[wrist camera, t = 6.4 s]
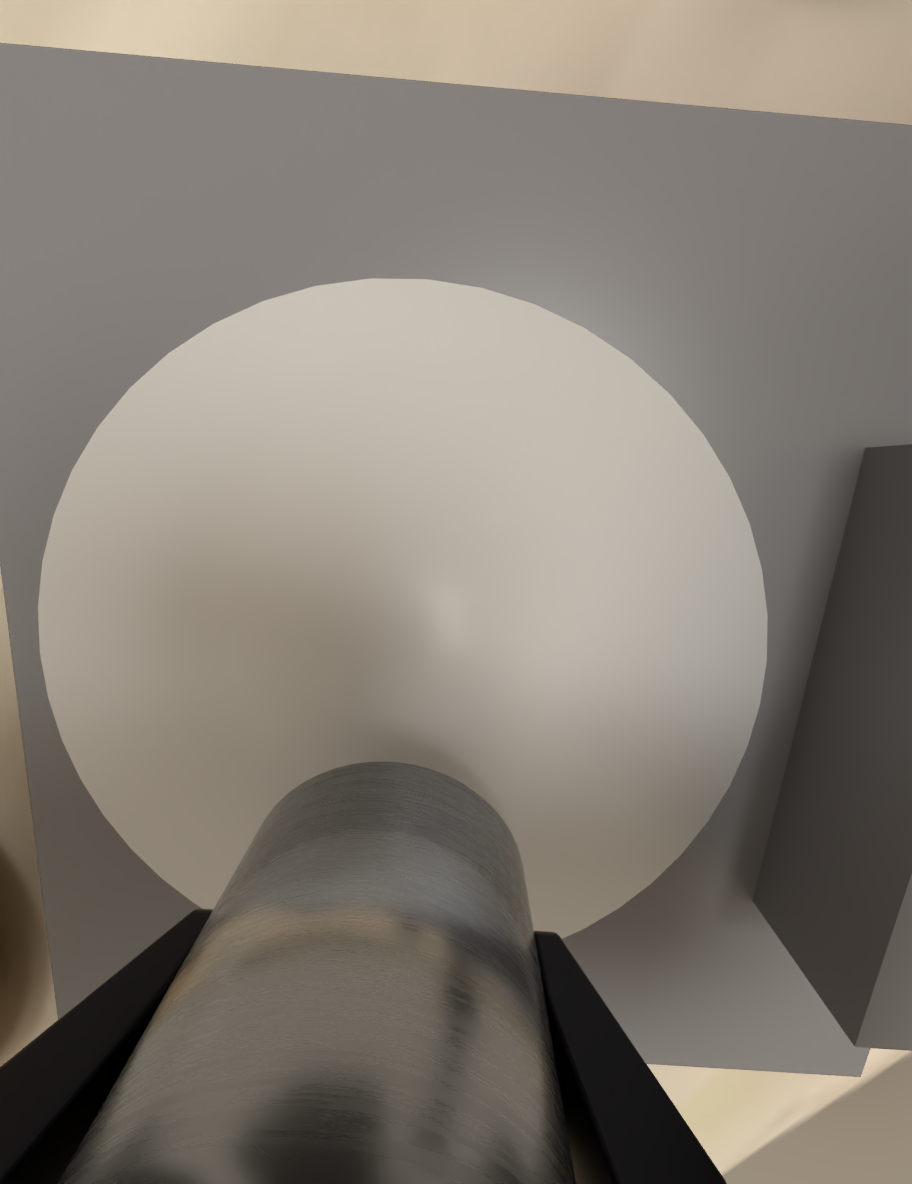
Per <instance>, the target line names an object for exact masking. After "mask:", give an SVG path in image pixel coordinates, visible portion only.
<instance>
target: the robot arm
mask: <svg viewBox="0 0 912 1184" xmlns="http://www.w3.org/2000/svg"><path fill="white" fill-rule="evenodd" d="M212 911H213V909H195V910H193V911H192V912H190V913H189V914H188V915H186V916H185V917H184V918H183V919H182V920H180V921H179V922H178V923H177V924H175V925H174V926H173V927H172V928H171V929H169V930H168V931H167V932H166V933H164V934H163V935H162V936H161V937H159V938H158V939H157V940H156V941H155V942H153V943H152V944H151V945H150V946H148V947H147V948H146V949H145V950H144V951H142V952H141V953H140V954H139V955H137V956H136V957H135V958H134V959H132V960H131V961H130V962H129V963H128V964H126V965H125V966H124V967H123V968H121V969H120V970H119V971H118V972H117V973H115V974H114V975H113V976H112V977H110V978H109V979H108V980H107V981H105V982H104V983H103V984H102V985H101V986H99V987H98V988H97V989H96V990H94V991H93V992H92V993H91V994H90V995H88V996H87V997H86V998H85V999H83V1000H82V1001H81V1002H80V1003H78V1004H77V1005H76V1006H75V1007H74V1008H72V1009H71V1010H70V1011H69V1012H67V1013H66V1014H65V1015H64V1016H63V1017H61V1018H60V1019H59V1020H58V1021H56V1022H55V1023H54V1024H53V1025H52V1026H50V1027H49V1028H48V1029H47V1030H45V1031H44V1032H43V1033H42V1034H40V1035H39V1036H38V1037H37V1038H36V1039H34V1040H33V1041H32V1042H31V1043H29V1044H28V1045H27V1046H26V1047H25V1048H23V1049H22V1050H21V1051H20V1052H18V1053H17V1054H16V1055H15V1056H13V1057H12V1058H11V1059H10V1060H9V1061H7V1062H6V1063H5V1064H4V1065H2V1066H1V1067H0V1184H58V1183H59V1181H60V1179H61V1177H62V1176H63V1174H64V1172H65V1170H66V1168H67V1167H68V1165H69V1163H70V1161H71V1160H72V1158H73V1156H74V1154H75V1153H76V1151H77V1149H78V1147H79V1146H80V1144H81V1142H82V1140H83V1138H84V1137H85V1135H86V1133H87V1131H88V1130H89V1128H90V1126H91V1124H92V1123H93V1121H94V1119H95V1117H96V1116H97V1114H98V1112H99V1110H100V1109H101V1107H102V1105H103V1103H104V1101H105V1100H106V1098H107V1096H108V1094H109V1093H110V1091H111V1089H112V1087H113V1086H114V1084H115V1082H116V1080H117V1079H118V1077H119V1075H120V1073H121V1071H122V1070H123V1068H124V1066H125V1064H126V1063H127V1061H128V1059H129V1057H130V1056H131V1054H132V1052H133V1050H134V1049H135V1047H136V1045H137V1043H138V1042H139V1040H140V1038H141V1036H142V1034H143V1033H144V1031H145V1029H146V1027H147V1026H148V1024H149V1022H150V1020H151V1019H152V1017H153V1015H154V1013H155V1012H156V1010H157V1008H158V1006H159V1005H160V1003H161V1001H162V999H163V997H164V996H165V994H166V992H167V990H168V989H169V987H170V985H171V983H172V982H173V980H174V978H175V976H176V975H177V973H178V971H179V969H180V967H181V966H182V964H183V962H184V960H185V959H186V957H187V955H188V953H189V952H190V950H191V948H192V946H193V945H194V943H195V941H196V939H197V938H198V936H199V934H200V932H201V930H202V929H203V927H204V925H205V923H206V922H207V920H208V918H209V916H210V915H211V913H212ZM534 935H535V941H536V947H537V953H538V959H539V965H540V971H541V977H542V983H543V989H544V995H545V1001H546V1007H547V1013H548V1019H549V1025H550V1031H551V1037H552V1043H553V1049H554V1055H555V1060H556V1066H557V1072H558V1078H559V1084H560V1090H561V1096H562V1102H563V1108H564V1114H565V1120H566V1126H567V1132H568V1138H569V1144H570V1150H571V1156H572V1162H573V1168H574V1174H575V1180H576V1184H726V1181H725V1180H724V1178H723V1177H722V1175H721V1174H720V1172H719V1171H718V1169H717V1168H716V1166H715V1165H714V1163H713V1162H712V1160H711V1159H710V1157H709V1156H708V1155H707V1153H706V1152H705V1150H704V1149H703V1147H702V1146H701V1144H700V1143H699V1141H698V1140H697V1138H696V1137H695V1135H694V1134H693V1132H692V1131H691V1129H690V1128H689V1126H688V1125H687V1123H686V1122H685V1121H684V1119H683V1118H682V1116H681V1115H680V1113H679V1112H678V1110H677V1109H676V1107H675V1106H674V1104H673V1103H672V1101H671V1100H670V1098H669V1097H668V1095H667V1094H666V1092H665V1091H664V1090H663V1088H662V1087H661V1085H660V1084H659V1082H658V1081H657V1079H656V1078H655V1076H654V1075H653V1073H652V1072H651V1070H650V1069H649V1067H648V1066H647V1064H646V1063H645V1061H644V1060H643V1058H642V1057H641V1056H640V1054H639V1053H638V1051H637V1050H636V1048H635V1047H634V1045H633V1044H632V1042H631V1041H630V1039H629V1038H628V1036H627V1035H626V1033H625V1032H624V1030H623V1029H622V1027H621V1026H620V1024H619V1023H618V1022H617V1020H616V1019H615V1017H614V1016H613V1014H612V1013H611V1011H610V1010H609V1008H608V1007H607V1005H606V1004H605V1002H604V1001H603V999H602V998H601V996H600V995H599V993H598V992H597V991H596V989H595V988H594V986H593V985H592V983H591V982H590V980H589V979H588V977H587V976H586V974H585V973H584V971H583V970H582V968H581V967H580V965H579V964H578V962H577V961H576V959H575V958H574V957H573V955H572V954H571V952H570V951H569V949H568V948H567V946H566V945H565V943H564V942H563V940H562V939H561V937H560V936H559V935H558V934H557V933H555V932H547V931H534Z"/></svg>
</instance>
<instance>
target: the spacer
mask: <svg viewBox="0 0 912 1184" xmlns="http://www.w3.org/2000/svg"><path fill="white" fill-rule="evenodd" d="M58 1184H576V1180H575V1174H574V1168H573V1162H572V1156H571V1150H570V1144H569V1138H568V1132H567V1126H566V1120H565V1114H564V1108H563V1102H562V1096H561V1090H560V1084H559V1078H558V1072H557V1066H556V1060H555V1055H554V1049H553V1043H552V1037H551V1031H550V1025H549V1019H548V1013H547V1007H546V1001H545V995H544V989H543V983H542V977H541V971H540V965H539V959H538V953H537V947H536V941H535V935H534V929H533V923H532V917H531V911H530V905H529V899H528V893H527V887H526V881H525V875H524V869H523V864H522V860H521V856H520V852H519V849H518V846H517V844H516V842H515V839H514V837H513V835H512V833H511V831H510V830H509V828H508V827H507V825H506V823H505V822H504V820H503V819H502V818H501V816H500V815H499V814H498V813H497V812H496V810H495V809H494V808H493V807H492V806H491V805H490V804H489V803H488V802H487V801H486V800H484V799H483V798H482V797H481V796H480V795H479V794H477V793H476V792H475V791H473V790H472V789H470V788H469V787H467V786H466V785H465V784H463V783H461V782H459V781H457V780H455V779H453V778H451V777H450V776H448V775H445V774H442V773H440V772H437V771H434V770H432V769H429V768H425V767H421V766H417V765H413V764H406V763H398V762H365V763H356V764H351V765H347V766H342V767H338V768H335V769H332V770H329V771H326V772H324V773H321V774H319V775H317V776H315V777H313V778H311V779H309V780H307V781H305V782H303V783H302V784H300V785H299V786H297V787H296V788H295V789H293V790H292V791H290V792H289V793H288V794H287V795H286V796H285V797H283V798H282V799H281V800H280V801H279V802H278V803H277V804H276V805H275V806H274V808H273V809H272V810H271V811H270V813H269V814H268V815H267V816H266V818H265V820H264V821H263V823H262V825H261V827H260V828H259V830H258V832H257V834H256V835H255V837H254V839H253V841H252V842H251V844H250V846H249V848H248V849H247V851H246V853H245V855H244V856H243V858H242V860H241V862H240V863H239V865H238V867H237V869H236V871H235V872H234V874H233V876H232V878H231V879H230V881H229V883H228V885H227V886H226V888H225V890H224V892H223V893H222V895H221V897H220V899H219V900H218V902H217V904H216V906H215V908H214V909H213V911H212V913H211V915H210V916H209V918H208V920H207V922H206V923H205V925H204V927H203V929H202V930H201V932H200V934H199V936H198V938H197V939H196V941H195V943H194V945H193V946H192V948H191V950H190V952H189V953H188V955H187V957H186V959H185V960H184V962H183V964H182V966H181V967H180V969H179V971H178V973H177V975H176V976H175V978H174V980H173V982H172V983H171V985H170V987H169V989H168V990H167V992H166V994H165V996H164V997H163V999H162V1001H161V1003H160V1005H159V1006H158V1008H157V1010H156V1012H155V1013H154V1015H153V1017H152V1019H151V1020H150V1022H149V1024H148V1026H147V1027H146V1029H145V1031H144V1033H143V1034H142V1036H141V1038H140V1040H139V1042H138V1043H137V1045H136V1047H135V1049H134V1050H133V1052H132V1054H131V1056H130V1057H129V1059H128V1061H127V1063H126V1064H125V1066H124V1068H123V1070H122V1071H121V1073H120V1075H119V1077H118V1079H117V1080H116V1082H115V1084H114V1086H113V1087H112V1089H111V1091H110V1093H109V1094H108V1096H107V1098H106V1100H105V1101H104V1103H103V1105H102V1107H101V1109H100V1110H99V1112H98V1114H97V1116H96V1117H95V1119H94V1121H93V1123H92V1124H91V1126H90V1128H89V1130H88V1131H87V1133H86V1135H85V1137H84V1138H83V1140H82V1142H81V1144H80V1146H79V1147H78V1149H77V1151H76V1153H75V1154H74V1156H73V1158H72V1160H71V1161H70V1163H69V1165H68V1167H67V1168H66V1170H65V1172H64V1174H63V1176H62V1177H61V1179H60V1181H59V1183H58Z"/></svg>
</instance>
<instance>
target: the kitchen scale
mask: <svg viewBox="0 0 912 1184" xmlns="http://www.w3.org/2000/svg"><path fill="white" fill-rule="evenodd" d="M0 566H1V574H2V581H3V589H4V597H5V605H6V613H7V621H8V629H9V636H10V644H11V652H12V660H13V668H14V676H15V684H16V691H17V699H18V707H19V715H20V723H21V731H22V739H23V746H24V754H25V762H26V770H27V778H28V786H29V794H30V801H31V809H32V817H33V825H34V833H35V841H36V849H37V856H38V864H39V872H40V880H41V888H42V896H43V904H44V911H45V919H46V927H47V935H48V943H49V951H50V959H51V966H52V974H53V982H54V990H55V998H56V1006H57V1014H58V1020H59V1019H60V1018H61V1017H63V1016H64V1015H65V1014H66V1013H67V1012H69V1011H70V1010H71V1009H72V1008H74V1007H75V1006H76V1005H77V1004H78V1003H80V1002H81V1001H82V1000H83V999H85V998H86V997H87V996H88V995H90V994H91V993H92V992H93V991H94V990H96V989H97V988H98V987H99V986H101V985H102V984H103V983H104V982H105V981H107V980H108V979H109V978H110V977H112V976H113V975H114V974H115V973H117V972H118V971H119V970H120V969H121V968H123V967H124V966H125V965H126V964H128V963H129V962H130V961H131V960H132V959H134V958H135V957H136V956H137V955H139V954H140V953H141V952H142V951H144V950H145V949H146V948H147V947H148V946H150V945H151V944H152V943H153V942H155V941H156V940H157V939H158V938H159V937H161V936H162V935H163V934H164V933H166V932H167V931H168V930H169V929H171V928H172V927H173V926H174V925H175V924H177V923H178V922H179V921H180V920H182V919H183V918H184V917H185V916H186V915H188V914H189V913H190V912H192V911H193V910H195V909H214V908H215V906H216V904H217V902H218V900H219V899H220V897H221V895H222V893H223V892H224V890H225V888H226V886H227V885H228V883H229V881H230V879H231V878H232V876H233V874H234V872H235V871H236V869H237V867H238V865H239V863H240V862H241V860H242V858H243V856H244V855H245V853H246V851H247V849H248V848H249V846H250V844H251V842H252V841H253V839H254V837H255V835H256V834H257V832H258V830H259V828H260V827H261V825H262V823H263V821H264V820H265V818H266V816H267V815H268V814H269V813H270V811H271V810H272V809H273V808H274V806H275V805H276V804H277V803H278V802H279V801H280V800H281V799H282V798H283V797H285V796H286V795H287V794H288V793H289V792H290V791H292V790H293V789H295V788H296V787H297V786H299V785H300V784H302V783H303V782H305V781H307V780H309V779H311V778H313V777H315V776H317V775H319V774H321V773H324V772H326V771H329V770H332V769H335V768H338V767H342V766H347V765H351V764H356V763H365V762H398V763H406V764H413V765H417V766H421V767H425V768H429V769H432V770H434V771H437V772H440V773H442V774H445V775H448V776H450V777H451V778H453V779H455V780H457V781H459V782H461V783H463V784H465V785H466V786H467V787H469V788H470V789H472V790H473V791H475V792H476V793H477V794H479V795H480V796H481V797H482V798H483V799H484V800H486V801H487V802H488V803H489V804H490V805H491V806H492V807H493V808H494V809H495V810H496V812H497V813H498V814H499V815H500V816H501V818H502V819H503V820H504V822H505V823H506V825H507V827H508V828H509V830H510V831H511V833H512V835H513V837H514V839H515V842H516V844H517V846H518V849H519V852H520V856H521V860H522V864H523V869H524V875H525V881H526V887H527V893H528V899H529V905H530V911H531V917H532V923H533V929H534V931H547V932H555V933H557V934H558V935H559V936H560V937H561V939H562V940H563V942H564V943H565V945H566V946H567V948H568V949H569V951H570V952H571V954H572V955H573V957H574V958H575V959H576V961H577V962H578V964H579V965H580V967H581V968H582V970H583V971H584V973H585V974H586V976H587V977H588V979H589V980H590V982H591V983H592V985H593V986H594V988H595V989H596V991H597V992H598V993H599V995H600V996H601V998H602V999H603V1001H604V1002H605V1004H606V1005H607V1007H608V1008H609V1010H610V1011H611V1013H612V1014H613V1016H614V1017H615V1019H616V1020H617V1022H618V1023H619V1024H620V1026H621V1027H622V1029H623V1030H624V1032H625V1033H626V1035H627V1036H628V1038H629V1039H630V1041H631V1042H632V1044H633V1045H634V1047H635V1048H636V1050H637V1051H638V1053H639V1054H640V1056H641V1057H642V1058H643V1060H644V1061H645V1063H646V1064H658V1065H675V1066H691V1067H707V1068H723V1069H739V1070H756V1071H772V1072H788V1073H804V1074H821V1075H837V1076H853V1077H861V1074H862V1071H863V1068H864V1065H865V1062H866V1059H867V1056H868V1053H869V1050H870V1048H879V1049H895V1050H911V1051H912V125H904V124H893V123H882V122H871V121H860V120H849V119H837V118H826V117H815V116H804V115H793V114H782V113H771V112H760V111H749V110H738V109H727V108H716V107H704V106H693V105H682V104H671V103H660V102H649V101H638V100H627V99H616V98H605V97H594V96H583V95H572V94H560V93H549V92H538V91H527V90H516V89H505V88H494V87H483V86H472V85H461V84H450V83H439V82H428V81H416V80H405V79H394V78H383V77H372V76H361V75H350V74H339V73H328V72H317V71H306V70H295V69H284V68H272V67H261V66H250V65H239V64H228V63H217V62H206V61H195V60H184V59H173V58H162V57H151V56H139V55H128V54H117V53H106V52H95V51H84V50H73V49H62V48H51V47H40V46H29V45H18V44H7V43H0Z"/></svg>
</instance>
